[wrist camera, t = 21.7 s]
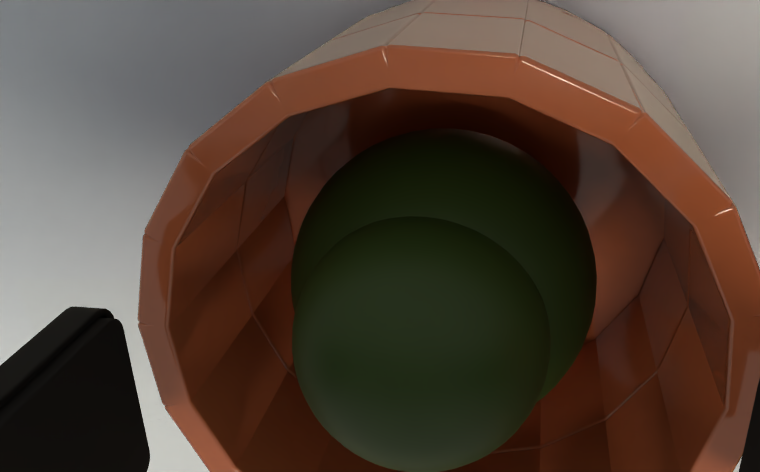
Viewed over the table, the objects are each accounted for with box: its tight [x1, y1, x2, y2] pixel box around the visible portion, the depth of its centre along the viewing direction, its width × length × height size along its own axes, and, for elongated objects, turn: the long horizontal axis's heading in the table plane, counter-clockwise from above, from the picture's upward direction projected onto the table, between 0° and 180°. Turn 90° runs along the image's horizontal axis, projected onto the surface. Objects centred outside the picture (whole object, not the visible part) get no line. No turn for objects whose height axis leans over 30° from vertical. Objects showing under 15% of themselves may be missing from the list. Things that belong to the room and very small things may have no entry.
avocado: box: [291, 128, 597, 472], centre depth 14 cm, size 6×6×8 cm
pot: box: [138, 0, 760, 472], centre depth 15 cm, size 10×10×7 cm
